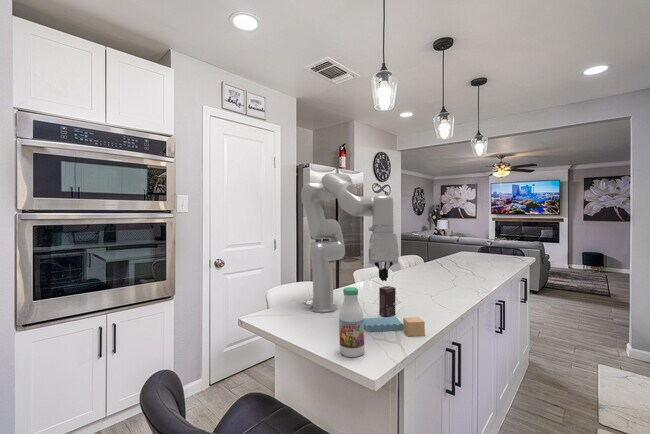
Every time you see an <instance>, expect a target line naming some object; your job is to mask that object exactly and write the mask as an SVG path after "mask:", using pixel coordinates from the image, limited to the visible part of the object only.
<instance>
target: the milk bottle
mask: <svg viewBox="0 0 650 434" xmlns="http://www.w3.org/2000/svg"><path fill="white" fill-rule="evenodd" d="M358 296H359V289H358V288H357V287H353V286H348V287H344V288H343V297H344V298H343V303H342V305H341V307H340V310H339V315H338V317H339V318H338V320H339V321H338V323H339V324H338V328H339V329H338V331H339V332H338V334H339V335H338V336H339V353H340V354H341V355H342V356H344V357H348V358H357V357H361V356H362V355H364V353H365V328H364V319H363V318H364V313H363V309H362V307H361V305H360V302H359V298H358Z"/></svg>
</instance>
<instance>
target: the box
mask: <svg viewBox="0 0 650 434" xmlns="http://www.w3.org/2000/svg"><path fill="white" fill-rule="evenodd" d="M378 293H379V295H378V296H379V297H378V299H379V301H378V302H379V303H378V304H379V305H378V307H379V311H378V313H379V316H380V317H382V318H384V317H394V316H395V315H396V287H394V286H390V285H387V286H382V287H379V292H378Z"/></svg>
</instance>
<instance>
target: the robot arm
mask: <svg viewBox="0 0 650 434" xmlns="http://www.w3.org/2000/svg"><path fill="white" fill-rule="evenodd" d="M354 194H355V186H354V184H353V180H352V178H351V176H349V174H347V173H339V172H328V173H324V175H323V176H322V178H321V180H320V182H319V181H312V182H311V181H310V182H307V183H305V184H304V185H303V186H302V188H301V195H300V197H301V202H302V205H303V207H304V211H305V213H306V220H307V225H308V230H309V231H308V232H309V235H310V237H311V238H313V239H314V240H320V241H317V242H314V243H313V244H311V246H310V247H309V248H310V249H309V255H310V260H311V266H312V268H311V269H312V298H311V299H310V300H307V299H306V300H303V305H304V306H310V307H309V310H310V311H311V312H313V313H314V312H315V313H320V314H321V313H323V314H324V313H333V312H334V311H336V310H337V309H338V306H337V305H336V304H335V303H334V271H333V268H332V266H331V263H330V262H331V261H338V260H342V259H343V258H344V257H345V255H346V246H345V242H344V237H343V231H342V227H341V225H340V223H339V222H338V221H337V220H336V219H332V218H328V219H326V216H325V212H324V209H323V207H322V206H321V204H320V203H319V202H318V201H334V200H336V199H337V202H338V205H339V207H340V209H342V210H343V211H344V212H346V213H347V214H349V215H351V216H353V217H371V218H372V219H371V221H372V225H371V226H368V231H370V232H372V233H370V237H369V245H368V264H369V265H372V266H375V267H377V269H378V278H379V279H380V281H382V282H387V281H388V278H389V270H390V268H391V267H392V266H393V265H397V264H399V258H400V257H399V244H398V238H397V234H396V233H394V200H393V197H392V196H389V195H377V196H360V195H359V196H356V195H354ZM325 239H326V240H325ZM321 240H323V241H321Z"/></svg>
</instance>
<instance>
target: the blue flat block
mask: <svg viewBox="0 0 650 434" xmlns="http://www.w3.org/2000/svg"><path fill="white" fill-rule="evenodd" d="M363 319H364V331H365V332H366V333H376V332H394V331H395V332H397V331H403V322H402V321H401V320H399V319H398V317H397V316H389V317H369V318H368V317H367V318H366V317H363Z"/></svg>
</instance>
